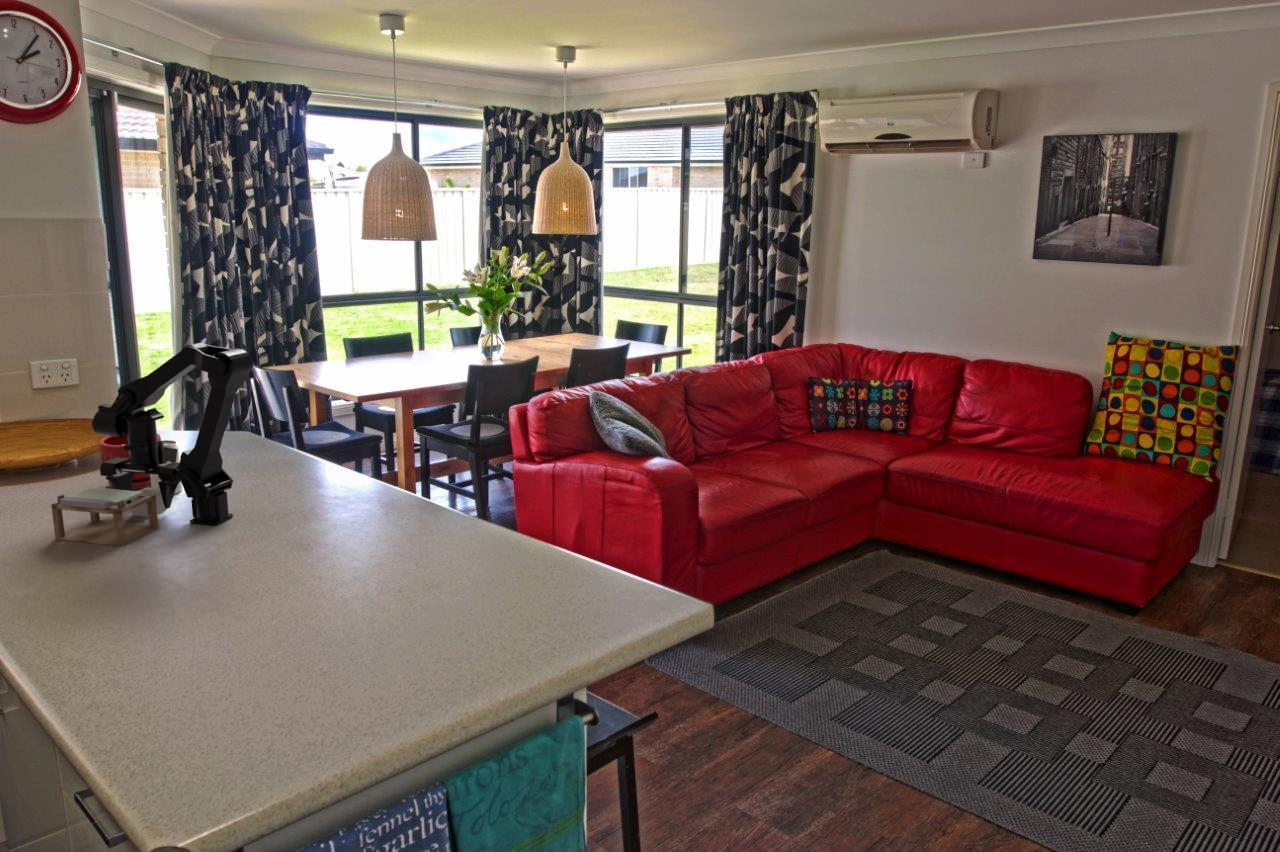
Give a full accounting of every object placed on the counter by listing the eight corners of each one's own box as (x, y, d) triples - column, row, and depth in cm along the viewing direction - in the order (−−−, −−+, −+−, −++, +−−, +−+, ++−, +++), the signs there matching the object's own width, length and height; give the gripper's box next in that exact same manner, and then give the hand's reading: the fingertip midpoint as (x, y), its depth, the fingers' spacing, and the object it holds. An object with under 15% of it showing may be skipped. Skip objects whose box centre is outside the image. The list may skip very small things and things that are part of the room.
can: (173, 496, 221) (169, 447, 218) (146, 495, 221) (141, 446, 218) (187, 488, 227) (183, 440, 224) (160, 487, 227) (156, 439, 224)
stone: (166, 510, 211) (164, 489, 210) (151, 517, 207) (149, 495, 205) (148, 508, 212) (146, 487, 211) (132, 515, 207) (130, 493, 206)
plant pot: (106, 480, 232) (101, 433, 229) (165, 475, 237) (161, 429, 234) (101, 495, 220) (96, 445, 217) (164, 489, 226) (159, 441, 223)
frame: (158, 528, 200) (154, 488, 198) (121, 546, 189) (117, 504, 187) (95, 522, 202) (90, 482, 200) (55, 539, 192) (50, 498, 190)
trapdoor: (143, 495, 197) (143, 489, 196) (109, 509, 187) (109, 504, 187) (91, 490, 199) (90, 485, 198) (55, 504, 189) (54, 499, 189)
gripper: (204, 433, 212) (209, 499, 215) (130, 427, 215) (136, 492, 218) (171, 445, 201) (177, 514, 204) (94, 438, 204) (101, 507, 208)
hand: (149, 506), depth 209 cm, fingers open, 9 cm apart
